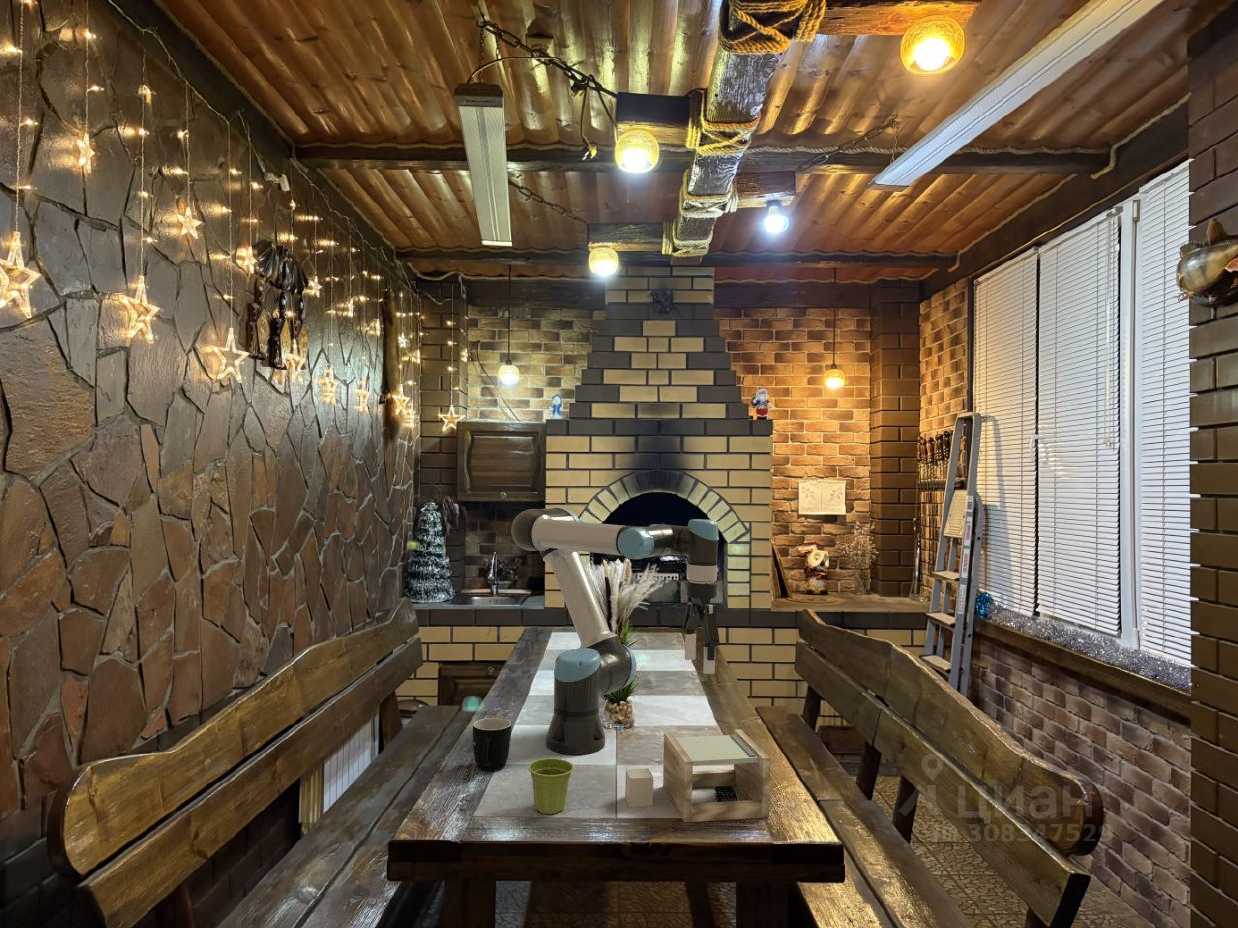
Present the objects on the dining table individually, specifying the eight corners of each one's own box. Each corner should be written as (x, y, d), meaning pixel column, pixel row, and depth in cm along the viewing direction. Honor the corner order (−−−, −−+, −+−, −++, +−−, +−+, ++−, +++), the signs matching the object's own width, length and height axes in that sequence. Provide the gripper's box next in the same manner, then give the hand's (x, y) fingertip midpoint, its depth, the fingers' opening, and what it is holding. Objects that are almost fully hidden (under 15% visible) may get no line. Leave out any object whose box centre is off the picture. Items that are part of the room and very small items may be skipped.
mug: (476, 758, 187) (477, 716, 187) (513, 760, 186) (514, 718, 186) (464, 778, 175) (465, 733, 175) (503, 779, 174) (504, 734, 174)
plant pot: (573, 798, 165) (574, 758, 165) (572, 818, 156) (573, 775, 156) (529, 798, 165) (530, 757, 165) (525, 818, 155) (526, 774, 155)
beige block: (629, 807, 162) (630, 778, 162) (625, 797, 166) (625, 769, 167) (652, 805, 162) (653, 777, 163) (647, 796, 167) (648, 768, 167)
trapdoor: (692, 765, 157) (692, 759, 157) (674, 742, 171) (674, 736, 171) (757, 762, 160) (757, 755, 160) (735, 739, 174) (735, 733, 174)
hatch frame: (684, 822, 155) (685, 762, 155) (662, 786, 173) (664, 732, 173) (769, 816, 158) (770, 757, 158) (739, 782, 176) (740, 729, 176)
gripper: (735, 588, 182) (732, 678, 182) (698, 574, 207) (696, 653, 206) (705, 589, 181) (702, 680, 180) (671, 574, 205) (669, 654, 205)
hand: (699, 666), depth 193 cm, fingers open, 13 cm apart
